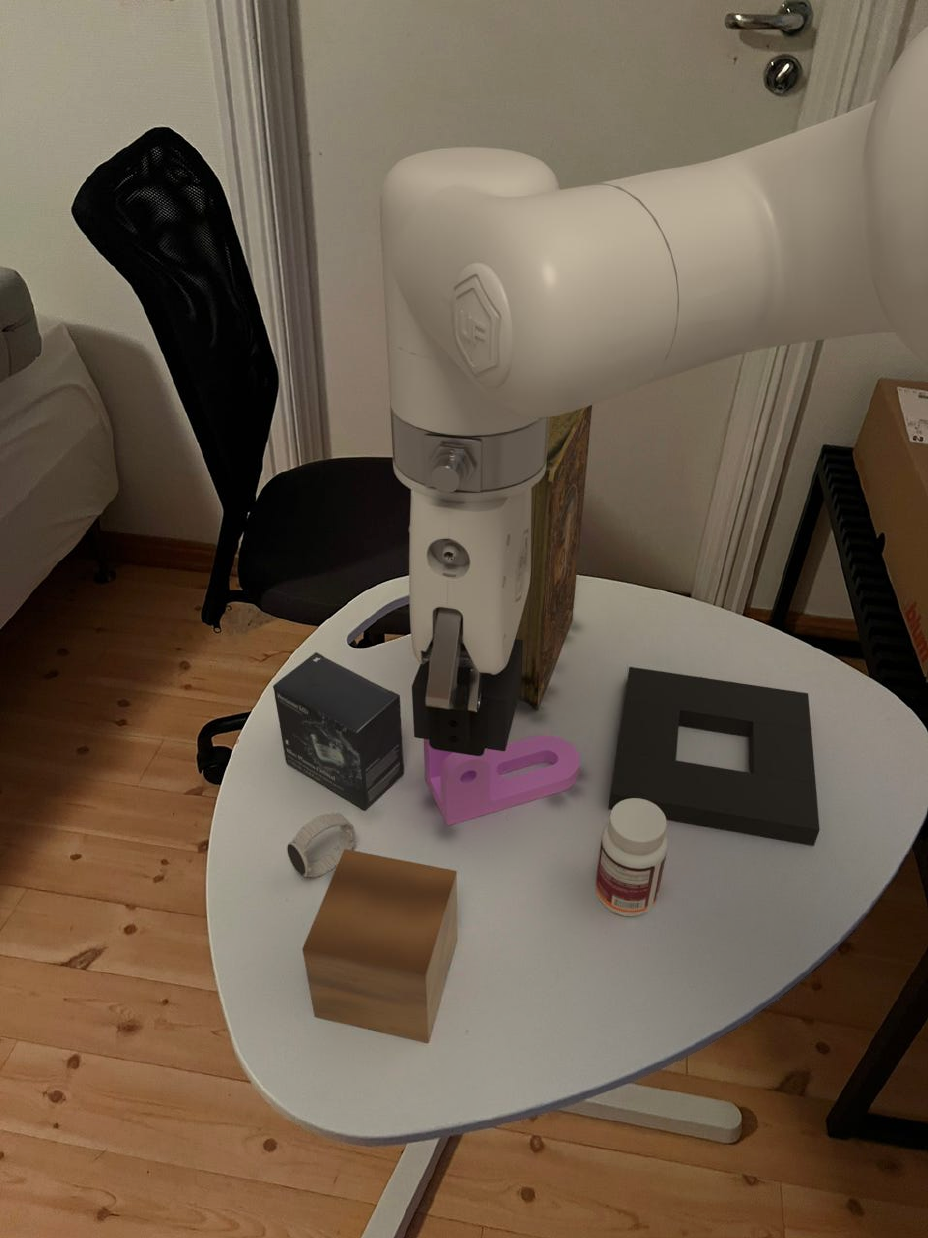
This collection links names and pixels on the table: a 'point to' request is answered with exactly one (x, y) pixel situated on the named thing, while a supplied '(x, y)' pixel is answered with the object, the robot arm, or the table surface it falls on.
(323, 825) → the wristwatch
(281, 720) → the box
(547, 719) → the table surface
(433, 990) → the wooden block
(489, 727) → the pad
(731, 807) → the base pad
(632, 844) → the pill bottle
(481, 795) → the bracket
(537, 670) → the book
